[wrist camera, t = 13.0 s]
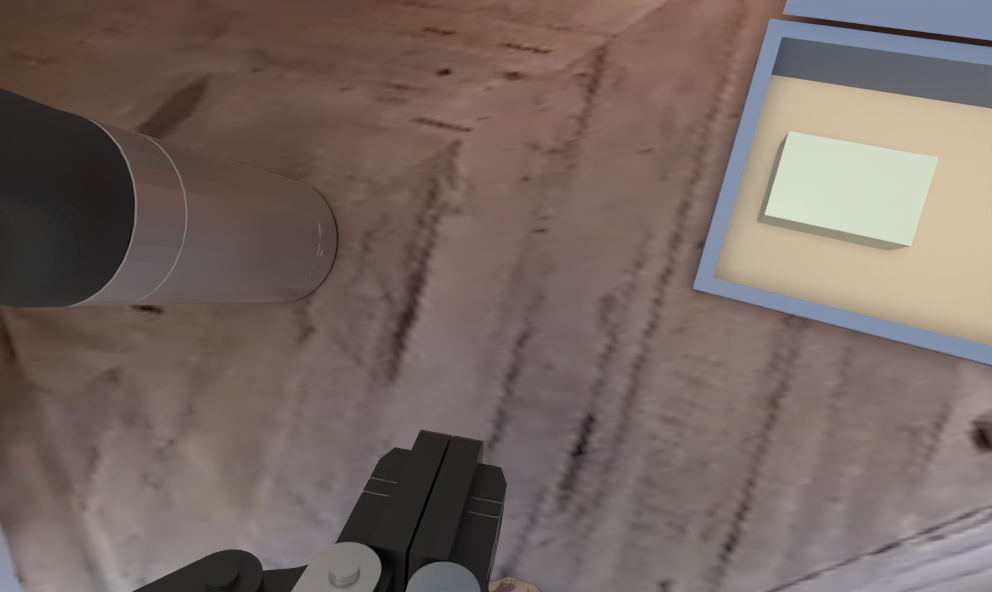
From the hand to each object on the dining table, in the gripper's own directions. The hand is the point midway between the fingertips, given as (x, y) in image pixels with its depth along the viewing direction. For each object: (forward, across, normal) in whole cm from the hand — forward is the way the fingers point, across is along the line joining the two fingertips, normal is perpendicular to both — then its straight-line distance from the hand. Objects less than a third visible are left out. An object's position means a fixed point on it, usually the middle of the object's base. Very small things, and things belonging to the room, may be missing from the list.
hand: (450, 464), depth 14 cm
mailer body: (+25, -19, -2) cm, 32 cm away
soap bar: (+25, -16, -2) cm, 30 cm away
